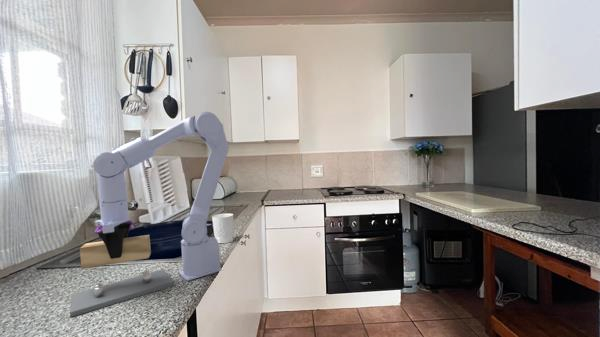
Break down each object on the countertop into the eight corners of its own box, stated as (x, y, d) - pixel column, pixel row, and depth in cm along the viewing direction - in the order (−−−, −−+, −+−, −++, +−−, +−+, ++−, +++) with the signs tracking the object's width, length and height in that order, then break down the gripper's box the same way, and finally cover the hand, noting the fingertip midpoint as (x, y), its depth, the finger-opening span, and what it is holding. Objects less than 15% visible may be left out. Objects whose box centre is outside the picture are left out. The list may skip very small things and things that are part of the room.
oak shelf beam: (87, 263, 69) (86, 243, 68) (150, 253, 74) (149, 234, 73) (81, 268, 65) (79, 248, 65) (148, 258, 70) (146, 238, 70)
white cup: (210, 241, 106) (208, 216, 105) (228, 237, 111) (227, 212, 111) (219, 245, 100) (217, 218, 100) (238, 240, 105) (237, 214, 105)
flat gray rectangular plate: (163, 272, 78) (162, 262, 78) (173, 285, 69) (173, 273, 69) (71, 298, 65) (70, 285, 65) (70, 317, 57) (69, 303, 56)
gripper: (102, 199, 74) (107, 249, 74) (84, 207, 60) (89, 268, 61) (133, 196, 77) (136, 245, 77) (121, 203, 63) (126, 261, 64)
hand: (118, 254), depth 69 cm, fingers closed on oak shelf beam, 4 cm apart
